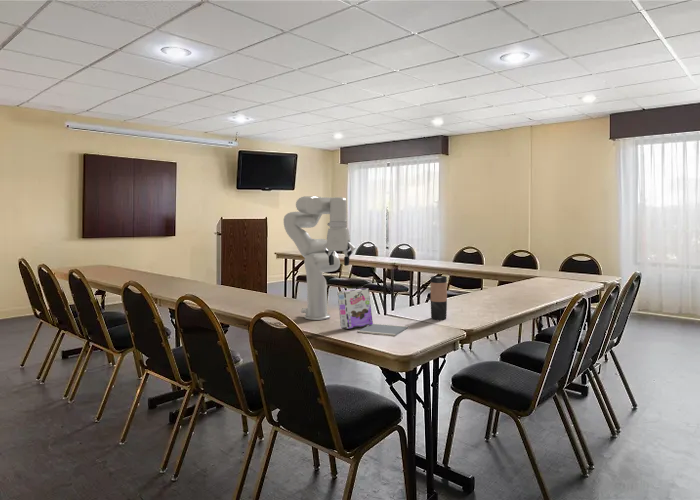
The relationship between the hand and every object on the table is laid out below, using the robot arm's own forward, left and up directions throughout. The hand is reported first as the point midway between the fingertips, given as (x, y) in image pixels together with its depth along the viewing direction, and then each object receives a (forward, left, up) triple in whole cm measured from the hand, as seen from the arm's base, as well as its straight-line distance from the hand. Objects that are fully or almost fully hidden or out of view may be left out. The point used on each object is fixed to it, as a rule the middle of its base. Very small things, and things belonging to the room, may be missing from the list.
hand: (339, 264), depth 223 cm
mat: (+21, 0, -28) cm, 35 cm away
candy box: (+9, 0, -27) cm, 29 cm away
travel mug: (+37, +32, -28) cm, 56 cm away
